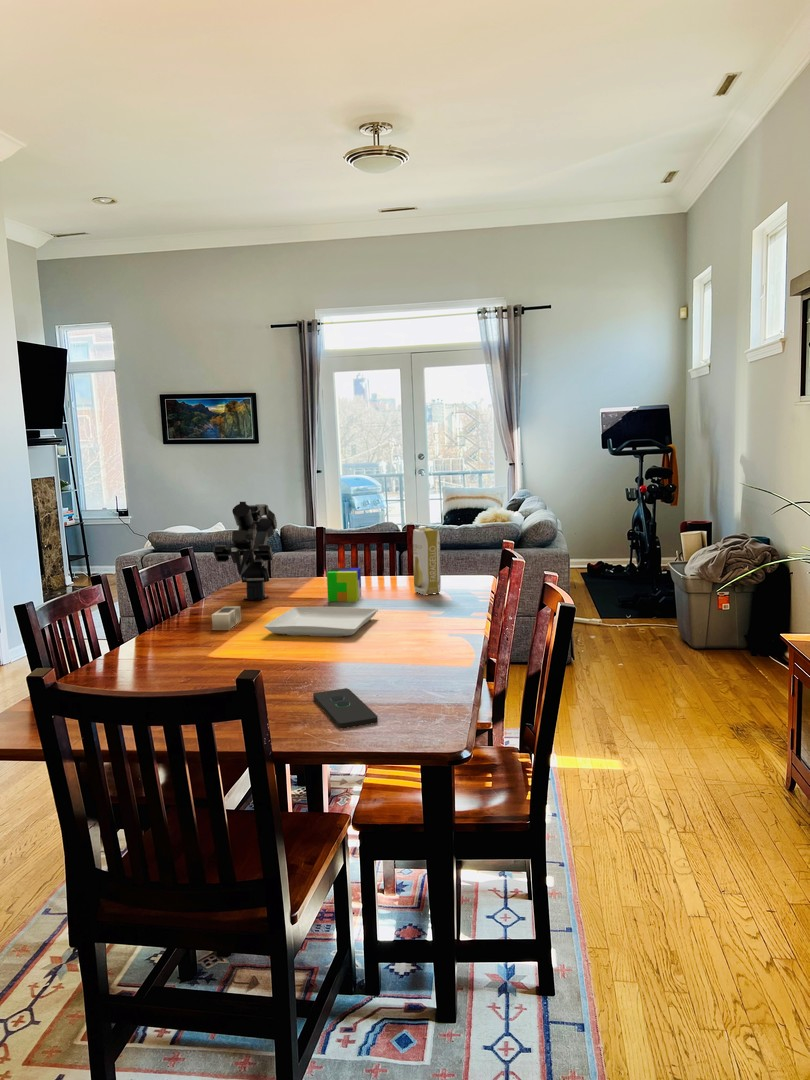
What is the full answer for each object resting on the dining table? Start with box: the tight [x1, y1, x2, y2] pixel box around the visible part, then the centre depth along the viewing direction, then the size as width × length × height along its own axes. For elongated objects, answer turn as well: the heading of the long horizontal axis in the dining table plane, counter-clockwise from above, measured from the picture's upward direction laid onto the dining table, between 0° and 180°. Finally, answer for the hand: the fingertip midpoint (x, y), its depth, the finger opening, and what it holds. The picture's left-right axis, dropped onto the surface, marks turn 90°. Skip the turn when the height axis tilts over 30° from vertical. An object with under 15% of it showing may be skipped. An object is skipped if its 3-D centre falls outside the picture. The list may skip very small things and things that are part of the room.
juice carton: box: [412, 525, 442, 596], centre depth 277 cm, size 9×8×24 cm
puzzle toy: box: [326, 567, 362, 602], centre depth 273 cm, size 10×10×10 cm
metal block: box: [211, 605, 242, 631], centre depth 237 cm, size 5×5×12 cm
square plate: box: [263, 606, 379, 637], centre depth 232 cm, size 27×27×4 cm
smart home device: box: [312, 687, 379, 729], centre depth 161 cm, size 8×2×20 cm
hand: (239, 574), depth 254 cm, fingers closed
